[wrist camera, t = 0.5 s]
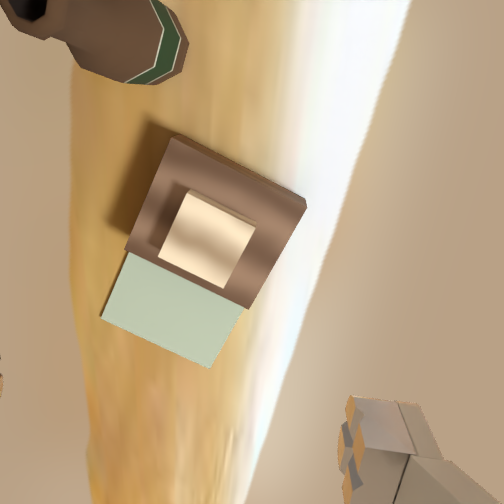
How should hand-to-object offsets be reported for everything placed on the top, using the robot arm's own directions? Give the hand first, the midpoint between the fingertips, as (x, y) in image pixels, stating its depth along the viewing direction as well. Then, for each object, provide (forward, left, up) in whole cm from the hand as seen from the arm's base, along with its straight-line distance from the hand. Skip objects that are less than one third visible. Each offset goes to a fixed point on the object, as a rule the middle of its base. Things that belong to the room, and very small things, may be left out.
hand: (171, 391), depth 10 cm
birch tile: (+10, -1, -37) cm, 38 cm away
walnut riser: (+9, -1, -41) cm, 42 cm away
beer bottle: (-5, -15, -41) cm, 44 cm away
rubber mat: (+23, -1, -41) cm, 47 cm away
